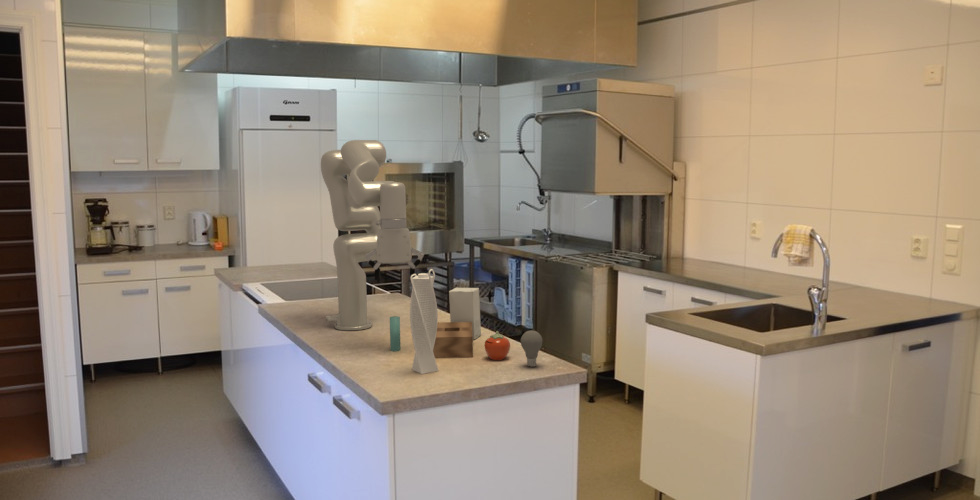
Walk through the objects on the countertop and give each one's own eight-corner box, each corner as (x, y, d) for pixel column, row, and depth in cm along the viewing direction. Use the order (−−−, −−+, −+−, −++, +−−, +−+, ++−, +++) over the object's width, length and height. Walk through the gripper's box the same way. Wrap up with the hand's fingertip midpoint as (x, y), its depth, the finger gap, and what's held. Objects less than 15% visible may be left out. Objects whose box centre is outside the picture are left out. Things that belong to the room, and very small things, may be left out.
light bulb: (519, 363, 220) (519, 328, 218) (540, 363, 220) (540, 327, 219) (522, 369, 214) (522, 333, 212) (544, 368, 214) (544, 332, 213)
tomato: (479, 357, 227) (479, 330, 226) (502, 354, 230) (501, 327, 229) (492, 363, 220) (492, 335, 219) (515, 359, 224) (515, 332, 223)
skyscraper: (444, 371, 213) (442, 268, 209) (420, 376, 209) (418, 271, 205) (429, 365, 219) (427, 265, 216) (406, 369, 215) (403, 267, 211)
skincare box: (481, 335, 254) (480, 287, 252) (474, 340, 247) (473, 291, 246) (457, 334, 256) (456, 286, 254) (449, 338, 250) (448, 290, 248)
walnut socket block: (431, 358, 227) (430, 337, 226) (433, 341, 247) (433, 322, 246) (472, 357, 227) (472, 336, 226) (472, 340, 247) (471, 321, 246)
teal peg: (390, 351, 235) (389, 318, 234) (390, 349, 238) (390, 316, 237) (400, 351, 235) (399, 318, 234) (400, 348, 238) (400, 316, 237)
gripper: (362, 226, 228) (364, 284, 230) (422, 225, 229) (424, 283, 231) (365, 223, 235) (367, 280, 238) (423, 222, 236) (425, 279, 238)
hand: (395, 282), depth 234 cm, fingers open, 9 cm apart
